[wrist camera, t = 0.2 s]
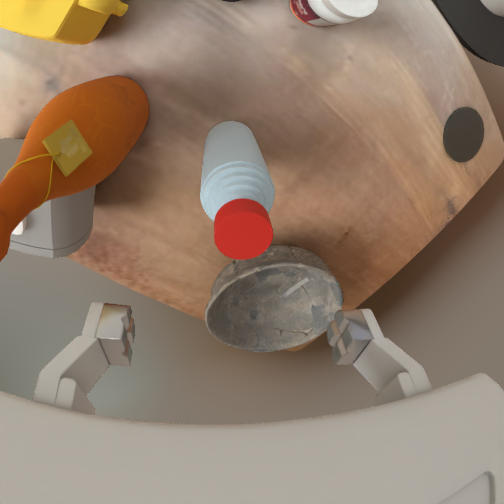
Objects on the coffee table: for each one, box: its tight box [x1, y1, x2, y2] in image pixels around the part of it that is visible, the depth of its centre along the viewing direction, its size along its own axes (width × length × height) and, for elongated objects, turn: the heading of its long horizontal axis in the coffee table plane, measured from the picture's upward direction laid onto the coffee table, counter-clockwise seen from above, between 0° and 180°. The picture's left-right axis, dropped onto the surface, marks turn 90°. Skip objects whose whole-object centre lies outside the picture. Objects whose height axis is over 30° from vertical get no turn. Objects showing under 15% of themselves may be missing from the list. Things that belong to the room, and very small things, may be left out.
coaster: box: [443, 107, 484, 162], centre depth 36 cm, size 10×10×1 cm
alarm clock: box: [0, 138, 96, 258], centre depth 29 cm, size 21×10×13 cm, turn 69°
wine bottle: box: [0, 76, 149, 261], centre depth 19 cm, size 10×10×30 cm
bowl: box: [205, 245, 344, 352], centre depth 47 cm, size 21×21×10 cm
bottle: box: [200, 121, 275, 221], centre depth 28 cm, size 6×6×20 cm
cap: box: [214, 198, 273, 260], centre depth 21 cm, size 4×4×2 cm
